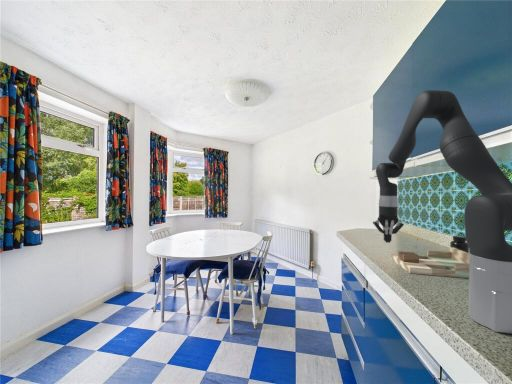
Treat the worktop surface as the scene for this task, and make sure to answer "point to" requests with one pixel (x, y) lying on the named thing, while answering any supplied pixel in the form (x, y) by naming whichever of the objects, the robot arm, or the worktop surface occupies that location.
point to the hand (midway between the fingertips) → (387, 242)
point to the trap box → (439, 263)
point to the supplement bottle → (460, 243)
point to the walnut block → (408, 256)
